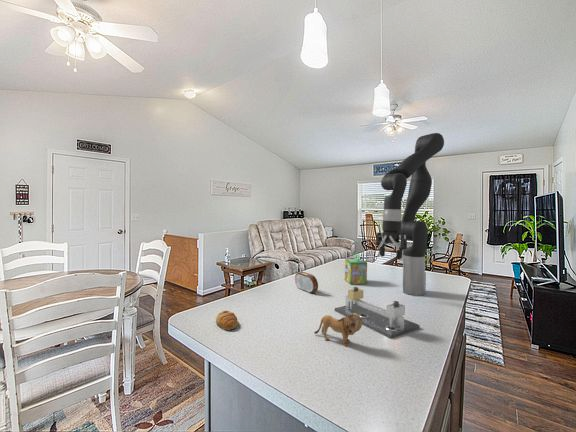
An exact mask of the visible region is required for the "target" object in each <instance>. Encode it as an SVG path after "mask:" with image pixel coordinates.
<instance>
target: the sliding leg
mask: <svg viewBox="0 0 576 432" xmlns="http://www.w3.org/2000/svg"><path fill="white" fill-rule="evenodd" d="M347 296H348V298H349V299H350V309H353V304H354V303H353V300H357V299H360V300H362V299H364V289H360V288H359V287H358V286H353V288H352V289H347Z"/></svg>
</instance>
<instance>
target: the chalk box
mask: <svg viewBox="0 0 576 432" xmlns="http://www.w3.org/2000/svg"><path fill="white" fill-rule="evenodd" d="M344 261H345V262H344V281H346V282H347V283H348V284H349V285H350V284H351V285H367V284H368V280H367V279H368V262H367V261H366V260H365V259H362V258H360V254H358V253H355V256H354V258H345V260H344Z"/></svg>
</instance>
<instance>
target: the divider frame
mask: <svg viewBox="0 0 576 432" xmlns="http://www.w3.org/2000/svg"><path fill="white" fill-rule="evenodd" d="M353 304H356V305H359V306H361V307H364V308H366V309H368V310H371V311H373V312H375V313H378V314H380V315H383V316H385V317H387V318H390V325H389V326H390V327H393V320H394V321H396V328H397V329H398V330H400V331H401V330H404V319H405V317H404V316H405V315H406V305H404V304H401V303H400V302H399V301H398V300H392V303H391V304H388V305H386V309H385V308H382V307H379V306H378V305H375V304H372V303H370V302H366V301H364V300H362V299H357V300H353ZM345 306H347V307H350V299H349V298H348V295H345Z"/></svg>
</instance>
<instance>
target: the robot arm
mask: <svg viewBox="0 0 576 432" xmlns="http://www.w3.org/2000/svg"><path fill="white" fill-rule="evenodd" d="M444 146H445V138H444V136H443V135H442V134H441V133H439V132H434V133H428V134H425V135H421V136H419V137H418V138H417V140H416V142H415V144H414V153H413V154H410V155H409V156H407V157H406V158H404V160H402V161H401V162H400V163H399V164H398V165H397V166H396V167H395V168H392V169H391V170H390V171H388V172H387V173H385V174H384V175H383V177H382V179H381V181H380V185H381V187H382V189H383V190H385V191H392V192H391V194H389V195H387V196H385V197H384V199H383V200H384V201H383V202H384V203H383V212H382V227H381V228H382V232H381V231H380V232H379V231H378V232H376V239H375V240H376V241H375V245H376V246H378V247H379V256H380V257H385V255H386V253H385V252H386V246H387V244H390V245H391V244H392V245H393V246H395V248H396V255H395V256H396V257H395V259H396V260H401V259H402V293H404V294H407V295H410V296H423V295H425V293H427V292H426V291H427V289H426V287H427V285H426V284H427V277H426V276H427V272H426V251H427V248H428V246H427V245H428V236H429V235H428V231H429V230H428V225H427V224H426V222H425V221H422V220H415V219H416V215H417V213H418V211H419V209H420V208H421V207H422V206H423V204H425V203H426V201H427V200H428V198H429V197H430V194H431V189H432V184H433V179H432V176H431V174H430V172H429V170H428V168H427V165H426V164H427V161H429V160H430V159H431V158H432V157H434V156H435V155H436V154H439V153H440V151H442V150H443V148H444ZM409 178H411V179H410V181H409V186H408V191H407V192H408V193H407V199H406V203H405V206H404V207H405V208H404V211H403V214H402V200H403V197H404V194H405V191H406V188H407V184H408V183H407V182H408V180H407V179H409ZM408 241H412V244H411V245H410V246H408Z"/></svg>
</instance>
